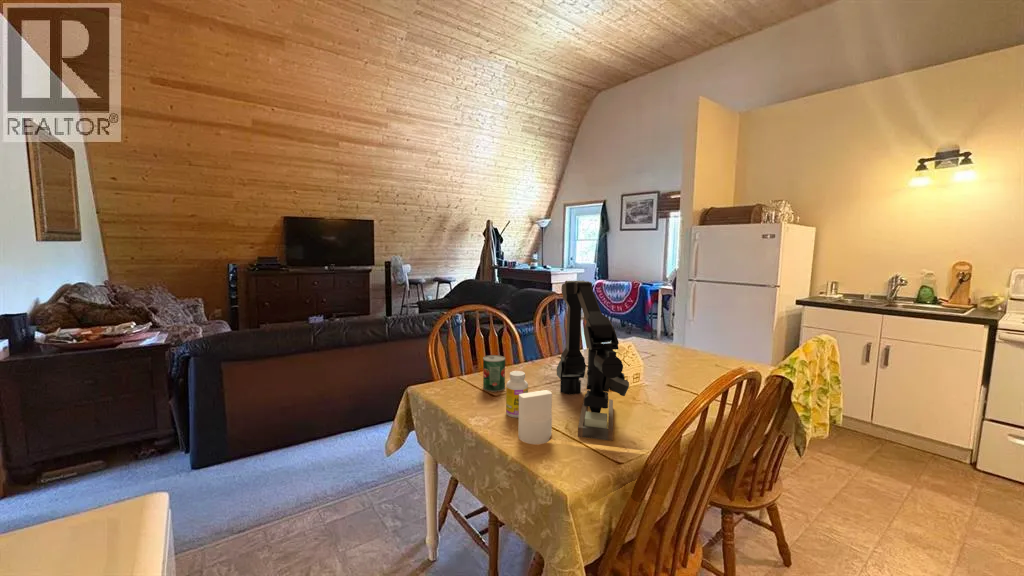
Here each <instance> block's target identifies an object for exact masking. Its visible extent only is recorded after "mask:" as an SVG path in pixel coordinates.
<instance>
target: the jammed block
mask: <svg viewBox="0 0 1024 576" xmlns="http://www.w3.org/2000/svg"><path fill="white" fill-rule="evenodd" d="M584 426H588V427H597V428H606V429H608V413H606V412H600V413H597V412H591V411H586V414H585V424H584Z"/></svg>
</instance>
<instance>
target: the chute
mask: <svg viewBox="0 0 1024 576" xmlns="http://www.w3.org/2000/svg"><path fill="white" fill-rule="evenodd" d="M581 404H582V405H581V410H580V415H579V420H578V421H579V422H578V425H577V437H578V438H584V439H585V438H586V439H595V440H600V441H601V440H603V441H609V442H611V441H613V438H614V437H613V435H614V434H613V433H614V400H613V399H609V398H608V415H607V429H606V428H597V427H588V426H585V414H586V411H587V410H588V407H586V406H584V398H583V400H582V403H581ZM587 412H588V411H587Z"/></svg>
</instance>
